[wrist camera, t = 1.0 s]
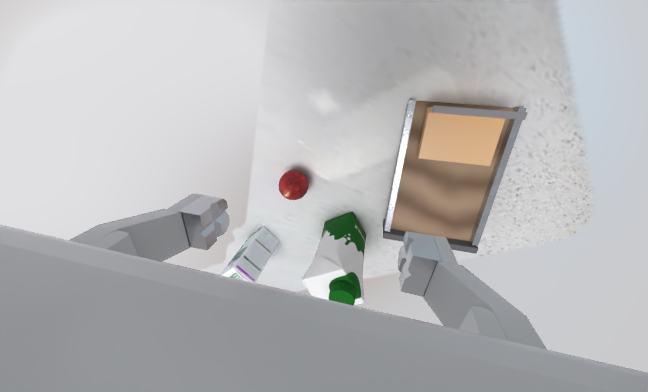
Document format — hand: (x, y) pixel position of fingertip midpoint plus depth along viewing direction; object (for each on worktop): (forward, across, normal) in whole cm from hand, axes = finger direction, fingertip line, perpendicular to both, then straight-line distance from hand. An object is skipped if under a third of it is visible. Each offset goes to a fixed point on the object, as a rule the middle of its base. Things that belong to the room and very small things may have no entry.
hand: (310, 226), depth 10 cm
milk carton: (+36, 0, +25) cm, 43 cm away
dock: (+35, -16, +9) cm, 40 cm away
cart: (+35, -16, +2) cm, 38 cm away
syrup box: (+35, +20, +32) cm, 52 cm away
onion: (+36, +11, +14) cm, 40 cm away
